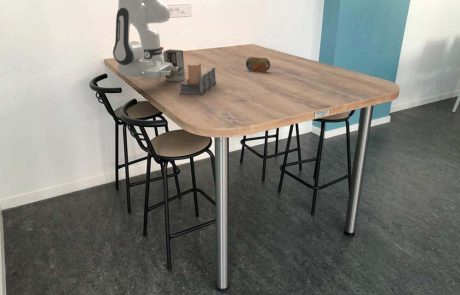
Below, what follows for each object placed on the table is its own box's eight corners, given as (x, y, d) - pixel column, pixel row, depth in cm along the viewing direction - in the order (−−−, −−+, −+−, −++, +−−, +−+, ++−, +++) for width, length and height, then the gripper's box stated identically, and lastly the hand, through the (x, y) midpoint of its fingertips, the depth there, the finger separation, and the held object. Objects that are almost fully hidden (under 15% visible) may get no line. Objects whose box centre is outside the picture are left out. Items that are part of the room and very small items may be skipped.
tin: (245, 70, 227) (245, 56, 223) (247, 69, 229) (247, 55, 225) (268, 73, 220) (269, 58, 217) (270, 72, 223) (271, 57, 219)
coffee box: (185, 79, 209) (183, 50, 202) (178, 82, 204) (176, 52, 197) (172, 77, 213) (170, 48, 207) (165, 80, 208) (162, 50, 202)
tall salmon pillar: (192, 86, 190) (191, 63, 185) (201, 87, 189) (200, 63, 184) (189, 88, 186) (187, 65, 181) (198, 89, 185) (197, 65, 180)
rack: (195, 82, 203) (194, 66, 199) (216, 83, 200) (215, 67, 196) (180, 93, 185) (178, 75, 181) (203, 95, 182) (202, 76, 178)
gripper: (138, 68, 180) (164, 69, 177) (156, 59, 198) (180, 60, 195) (139, 80, 183) (165, 82, 180) (157, 71, 201) (181, 72, 197)
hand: (173, 71), depth 187 cm, fingers open, 8 cm apart
